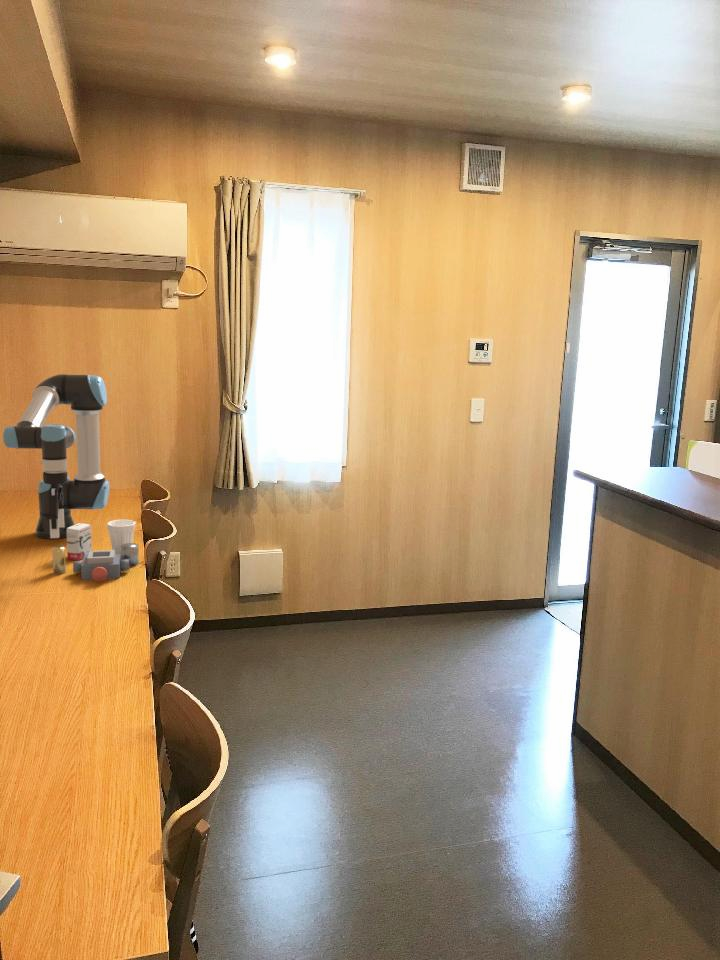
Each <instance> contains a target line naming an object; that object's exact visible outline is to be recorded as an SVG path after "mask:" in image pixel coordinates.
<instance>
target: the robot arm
mask: <svg viewBox="0 0 720 960" xmlns="http://www.w3.org/2000/svg"><path fill="white" fill-rule="evenodd" d="M107 398H108V395H107V388H106V384H105V382H104V379H103V378H102V377H100V376H99V375H91V374H56V375H53V376H50V377H48V378H45V379H44V380H42V382H40V383H39V384H37V386H36V387H35V389H34V390H33V392H32V399H31V401H30V403H29V404H28V406H27V407H26V409H25V411H24V412H23V413H22V415H21V417H20V418H19V421H18V423H16V425H10V426H9V425H8V426H6V427H5V428H4V430H3V434H2V439H3V443H4V446H5V447H7V448H9V449H16V450H17V449H22V450H23V449H25V450H26V449H27V450H29V449H32V450H33V449H38V450H39V449H40V450H41V455H42V457H41V459H42V461H40V465H42V470H43V472H42V479H41V480H40V481H39V483H38V492H37V494H38V507H39V509H38V511H39V517H38V521H37V524H36V527H35V536H36V537H37V538H40V539H45V540H47V539H49V540H51V539H53V540H54V539H63V538H67V530H66V529H67V528H68V527H71V526H73V525H75V524H76V523H75V521H74V519H73V516H72V511H71V510H93V511H94V510H103V509H104V508H106V506H107V503H108V501H109V496H110V489H111V488H110V482H109V480H106V475H104V474H103V473H102V471H101V448H100V446H101V445H100V443H101V442H100V419H99V418H100V417H99V414H100V413H101V412H102V411H103V407H104V406H106V405H107V401H108V399H107ZM58 405H70V408H71V409H70V410H71V411H72V412H73V413H74V414H75V431H74V430H73V429H72V428H71V427H69V426H65V425H62V424H45V422H46V421H47V419H48V417H49V416H50V414H51V411H52V410H53V409H54V408H56V407H57V406H58ZM75 441H76V458H77V474H76V475H74V477H73V480H71V478H70V477H69V476H68V472H67V470H68V458H67V457H68V456H67V449H69V448H71V447H72V446H73V445H74V443H75Z"/></svg>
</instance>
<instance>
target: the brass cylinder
mask: <svg viewBox="0 0 720 960" xmlns="http://www.w3.org/2000/svg"><path fill="white" fill-rule="evenodd" d="M65 547H66V546H63V545H55V546H53V547H51V553H52V554H51V555H52V556H51V557H52V573H53V575H55V576H56V575H64V574H66V570H67V569H66V567H67V566H66V548H65Z"/></svg>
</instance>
